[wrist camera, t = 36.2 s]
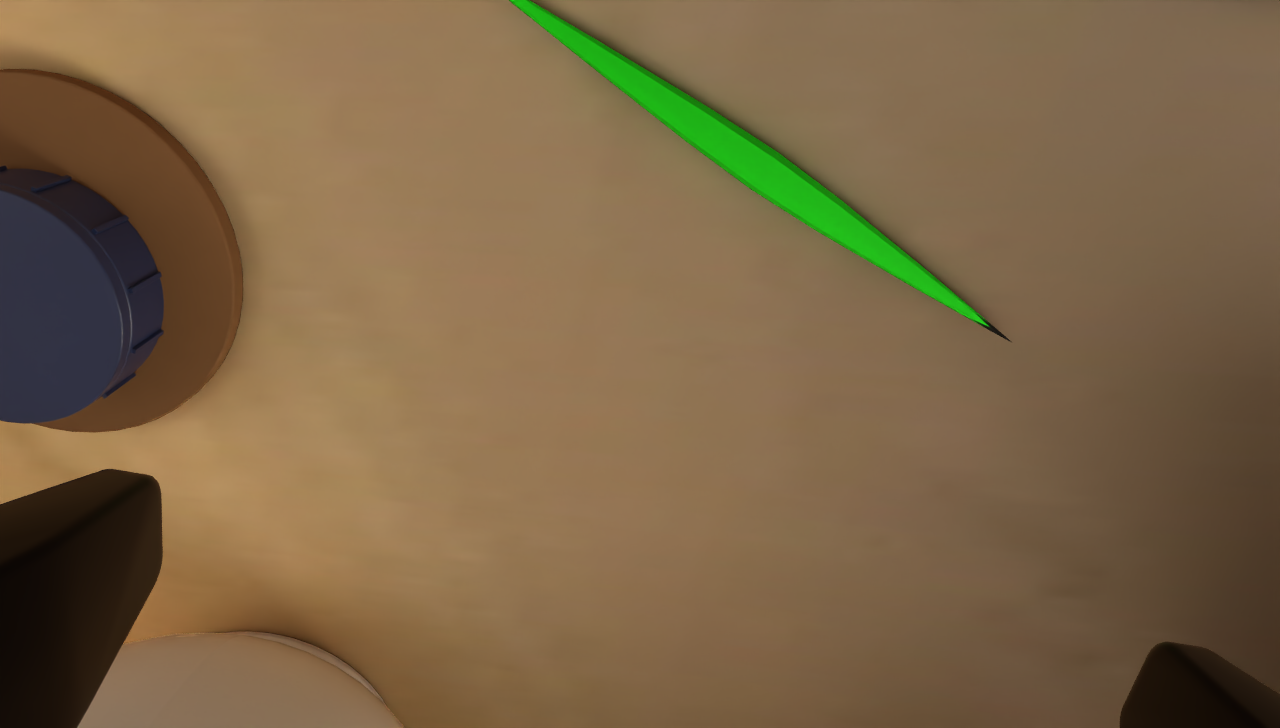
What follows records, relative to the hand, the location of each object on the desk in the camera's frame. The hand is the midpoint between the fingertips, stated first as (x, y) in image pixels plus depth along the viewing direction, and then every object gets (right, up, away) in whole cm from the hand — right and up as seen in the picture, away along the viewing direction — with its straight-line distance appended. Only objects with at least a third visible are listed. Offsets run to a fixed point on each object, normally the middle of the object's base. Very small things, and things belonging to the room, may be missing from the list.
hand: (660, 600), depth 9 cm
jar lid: (-13, +3, +11) cm, 17 cm away
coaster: (-13, +4, +12) cm, 18 cm away
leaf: (+2, +6, +12) cm, 13 cm away
